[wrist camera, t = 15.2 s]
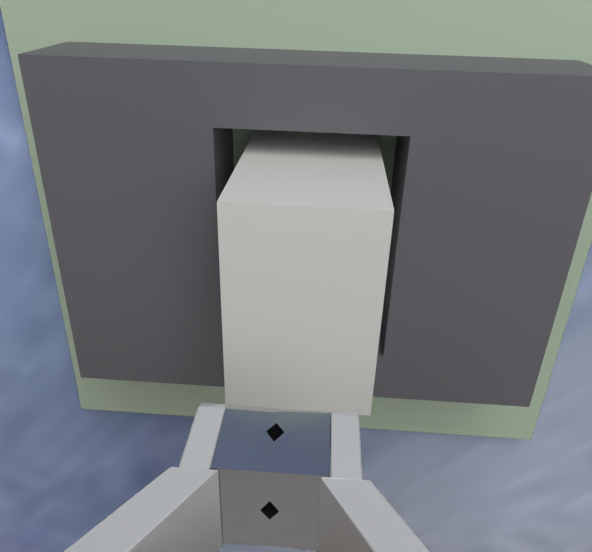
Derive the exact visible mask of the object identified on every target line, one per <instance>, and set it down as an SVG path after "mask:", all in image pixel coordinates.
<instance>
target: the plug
mask: <svg viewBox="0 0 592 552" xmlns="http://www.w3.org/2000/svg"><path fill="white" fill-rule="evenodd" d="M393 218H394V207H393V203H392V199H391V194H390V190H389V185H388V181H387V176H386V172H385V168H384V163H383V159H382V154H381V150H380V146H379V141H378V137H377V135H367V134H344V133H321V132H298V131H275V130H255V132H254V134H253V135H252V137H251V139H250V141H249V143H248V145H247V147H246V148H245V150H244V152H243V154H242V156H241V158H240V160H239V161H238V163H237V165H236V167H235V169H234V171H233V173H232V175H231V176H230V178H229V180H228V182H227V184H226V186H225V188H224V189H223V191H222V193H221V195H220V197H219V199H218V201H217V221H218V244H219V267H220V290H221V314H222V337H223V360H224V383H225V405H228V404H230V405H242V406H253V407H265V408H276V409H294V410H312V411H330V413H331V411H340V412H357V413H358V415H368V416H370V414H371V406H372V397H373V389H374V380H375V372H376V363H377V355H378V346H379V337H380V329H381V320H382V312H383V303H384V295H385V286H386V278H387V269H388V261H389V252H390V244H391V235H392V227H393Z"/></svg>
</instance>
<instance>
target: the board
mask: <svg viewBox="0 0 592 552" xmlns="http://www.w3.org/2000/svg"><path fill="white" fill-rule="evenodd" d="M0 7H1V12H2V17H3V22H4V27H5V32H6V37H7V42H8V47H9V52H10V57H11V61H12V66H13V71H14V76H15V81H16V86H17V91H18V96H19V101H20V106H21V111H22V116H23V121H24V126H25V131H26V136H27V141H28V146H29V151H30V156H31V160H32V165H33V170H34V175H35V180H36V185H37V190H38V195H39V200H40V205H41V210H42V215H43V220H44V225H45V230H46V235H47V240H48V245H49V250H50V255H51V259H52V264H53V269H54V274H55V279H56V284H57V289H58V294H59V299H60V304H61V309H62V314H63V319H64V324H65V329H66V334H67V339H68V344H69V349H70V354H71V359H72V363H73V368H74V373H75V378H76V383H77V388H78V393H79V398H80V403H81V408H82V409H91V410H106V411H120V412H135V413H149V414H164V415H178V416H193V417H195V414H196V411H197V408H198V407H199V405H200V404H201V403H213V404H224V405H225V383H224V360H223V337H222V314H221V290H220V267H219V244H218V221H217V201H218V199H219V197H220V195H221V193H222V191H223V189H224V188H225V186H226V184H227V182H228V180H229V178H230V176H231V175H232V173H233V171H234V169H235V167H236V165H237V163H238V161H239V160H240V158H241V156H242V154H243V152H244V150H245V148H246V147H247V145H248V143H249V141H250V139H251V137H252V135H253V134H254V132H255V130H275V131H298V132H321V133H344V134H367V135H377V137H378V141H379V146H380V150H381V154H382V159H383V163H384V168H385V172H386V176H387V181H388V185H389V190H390V194H391V199H392V203H393V207H394V218H393V227H392V235H391V244H390V252H389V261H388V269H387V278H386V286H385V295H384V303H383V312H382V320H381V329H380V337H379V346H378V355H377V363H376V372H375V380H374V389H373V397H372V406H371V414H370V416H368V415H359V424H360V428H368V429H382V430H397V431H411V432H426V433H440V434H455V435H470V436H484V437H499V438H513V439H528V440H531V439H532V436H533V432H534V429H535V426H536V422H537V419H538V416H539V413H540V409H541V406H542V403H543V399H544V396H545V393H546V390H547V386H548V383H549V380H550V376H551V373H552V370H553V366H554V363H555V360H556V357H557V353H558V350H559V347H560V343H561V340H562V337H563V334H564V330H565V327H566V324H567V320H568V317H569V314H570V311H571V307H572V304H573V301H574V297H575V294H576V291H577V287H578V284H579V281H580V278H581V274H582V271H583V268H584V264H585V261H586V258H587V255H588V251H589V248H590V245H591V241H592V0H0Z"/></svg>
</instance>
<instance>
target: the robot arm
mask: <svg viewBox="0 0 592 552" xmlns="http://www.w3.org/2000/svg"><path fill="white" fill-rule="evenodd" d="M222 543H227V544H249V545H270V546H280V547H290V548H299V549H309V550H317V551H316V552H429V551H428V549H427V548H426V547H425V546H424V544H423V543H422V542H421V541H420V540H419V538H418V537H417V536H416V535H415V534H414V532H413V531H412V530H411V529H410V528H409V526H408V525H407V524H406V523H405V521H404V520H403V519H402V518H401V517H400V515H399V514H398V513H397V512H396V511H395V509H394V508H393V507H392V506H391V505H390V503H389V502H388V501H387V500H386V499H385V497H384V496H383V495H382V494H381V492H380V491H379V490H378V489H377V488H376V486H375V485H374V484H373V483H372V482H371V481H370V480H362V462H361V443H360V424H359V415H358V413H357V412H340V411H331V413H330V411H312V410H294V409H276V408H265V407H253V406H242V405H230V404H228V405H224V404H213V403H201V404H200V405H199V407H198V408H197V411H196V414H195V417H194V420H193V423H192V426H191V430H190V433H189V436H188V439H187V442H186V445H185V448H184V451H183V454H182V457H181V460H180V463H179V467H169V468H168V469H167V470H166V471H164V472H163V473H162V474H161V475H159V476H158V477H157V478H156V479H154V480H153V481H152V482H151V483H149V484H148V485H147V486H146V487H144V488H143V489H142V490H141V491H139V492H138V493H137V494H136V495H134V496H133V497H132V498H131V499H129V500H128V501H127V502H126V503H124V504H123V505H122V506H120V507H119V508H118V509H117V510H115V511H114V512H113V513H112V514H110V515H109V516H108V517H107V518H105V519H104V520H103V521H102V522H100V523H99V524H98V525H97V526H95V527H94V528H93V529H92V530H90V531H89V532H88V533H87V534H85V535H84V536H83V537H82V538H80V539H79V540H78V541H77V542H75V543H74V544H73V545H71V546H70V547H69V548H68V549H66V550H65V551H64V552H218V551H219V550H220V549H221V547H222Z"/></svg>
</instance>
